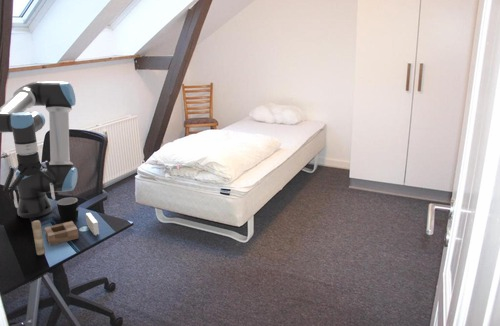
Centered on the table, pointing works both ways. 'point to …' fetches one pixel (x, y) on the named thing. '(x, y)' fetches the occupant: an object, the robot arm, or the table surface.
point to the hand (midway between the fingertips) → (35, 202)
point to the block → (61, 233)
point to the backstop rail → (92, 223)
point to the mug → (68, 209)
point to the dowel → (38, 237)
